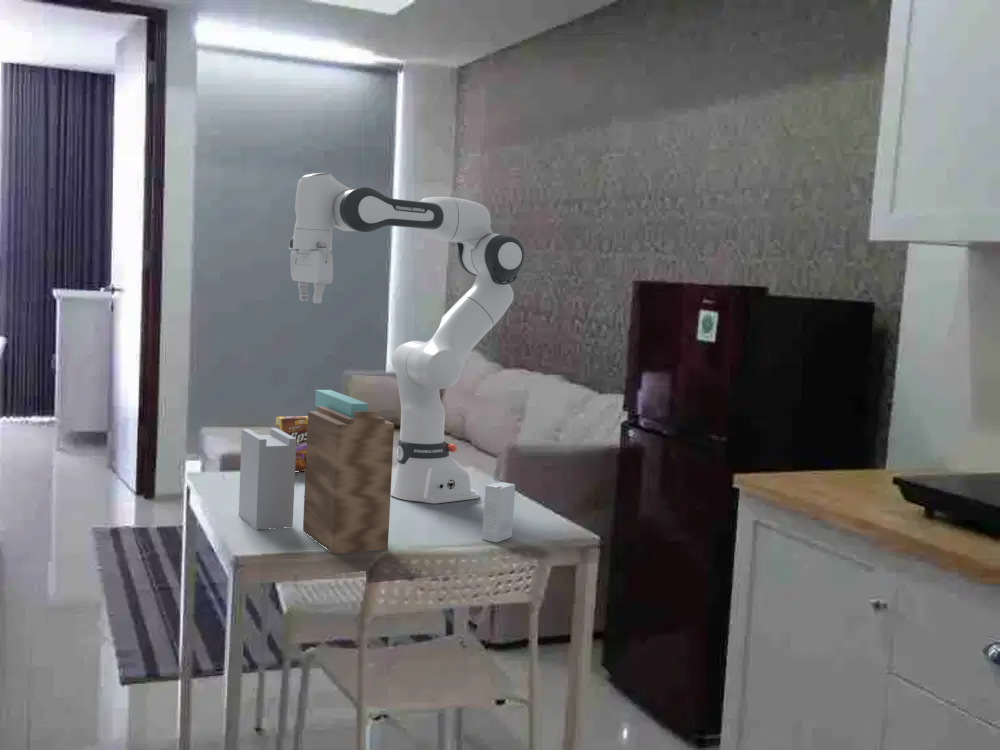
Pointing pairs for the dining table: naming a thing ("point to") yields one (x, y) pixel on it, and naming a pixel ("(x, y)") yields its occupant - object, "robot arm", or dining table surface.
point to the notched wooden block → (348, 480)
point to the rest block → (267, 479)
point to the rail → (339, 402)
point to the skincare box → (498, 511)
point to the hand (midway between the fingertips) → (310, 302)
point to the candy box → (296, 436)
